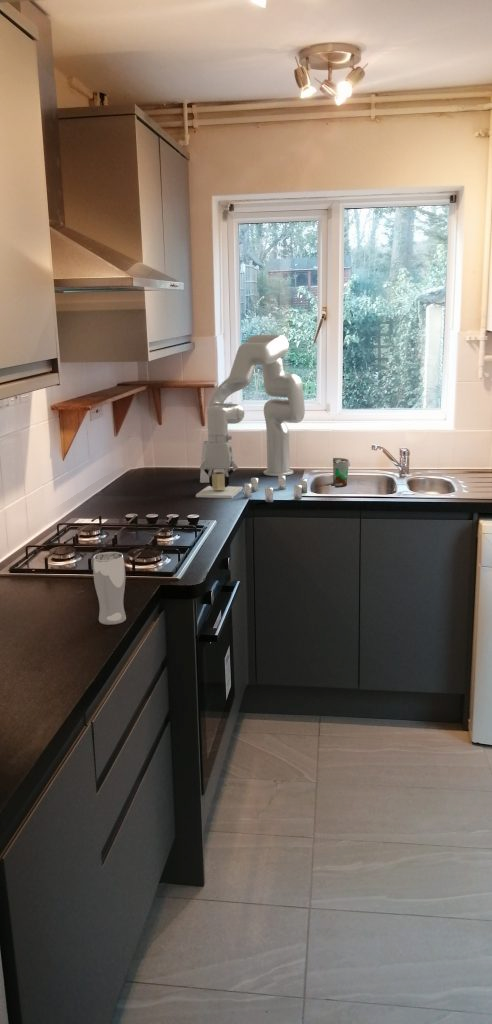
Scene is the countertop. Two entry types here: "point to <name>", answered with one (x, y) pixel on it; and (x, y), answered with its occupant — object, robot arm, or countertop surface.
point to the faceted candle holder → (218, 480)
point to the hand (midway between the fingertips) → (219, 485)
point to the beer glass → (110, 586)
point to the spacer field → (281, 485)
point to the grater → (203, 475)
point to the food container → (340, 472)
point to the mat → (219, 492)
